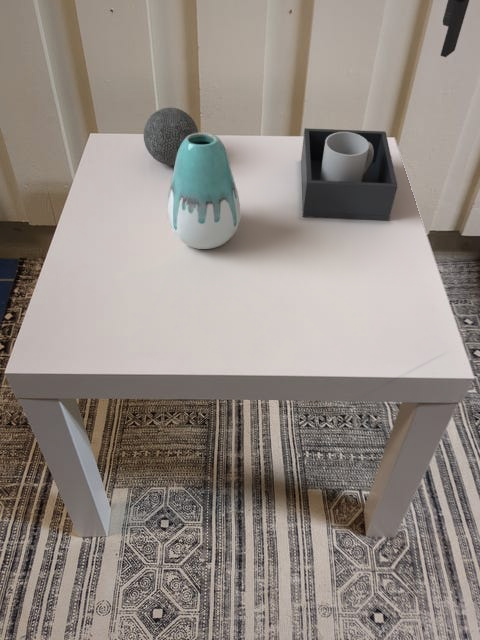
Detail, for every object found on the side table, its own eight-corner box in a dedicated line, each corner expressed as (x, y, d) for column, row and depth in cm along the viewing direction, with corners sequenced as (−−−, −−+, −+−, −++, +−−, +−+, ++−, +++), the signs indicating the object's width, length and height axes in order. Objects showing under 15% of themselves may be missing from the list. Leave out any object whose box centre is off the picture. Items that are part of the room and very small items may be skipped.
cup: (310, 183, 101) (316, 139, 94) (354, 167, 105) (363, 123, 98) (335, 205, 97) (343, 160, 90) (380, 188, 100) (390, 143, 94)
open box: (388, 220, 96) (397, 186, 91) (302, 217, 96) (306, 182, 91) (377, 164, 107) (385, 131, 102) (300, 161, 107) (304, 128, 102)
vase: (193, 204, 98) (187, 108, 85) (252, 226, 95) (256, 128, 81) (156, 243, 92) (143, 145, 78) (218, 268, 88) (215, 169, 74)
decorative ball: (193, 142, 111) (191, 94, 104) (204, 171, 105) (202, 122, 97) (143, 149, 109) (136, 100, 102) (151, 179, 103) (145, 129, 95)
